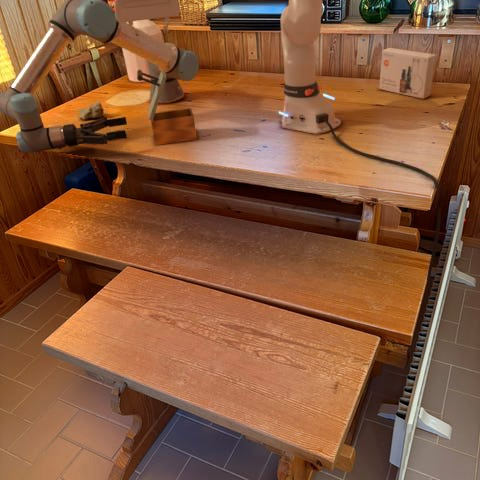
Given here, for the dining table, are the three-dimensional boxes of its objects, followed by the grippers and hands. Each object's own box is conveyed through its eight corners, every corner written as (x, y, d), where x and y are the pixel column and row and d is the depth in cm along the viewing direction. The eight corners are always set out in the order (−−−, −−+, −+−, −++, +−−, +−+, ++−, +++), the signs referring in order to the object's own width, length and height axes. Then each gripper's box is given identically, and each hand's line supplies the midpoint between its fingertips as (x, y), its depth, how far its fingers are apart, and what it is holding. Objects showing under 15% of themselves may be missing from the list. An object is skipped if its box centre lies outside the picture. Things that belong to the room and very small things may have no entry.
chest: (194, 129, 174) (190, 107, 170) (196, 139, 167) (193, 115, 162) (154, 135, 173) (150, 113, 168) (155, 145, 165) (151, 122, 160)
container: (160, 81, 233) (149, 21, 217) (121, 82, 238) (108, 23, 222) (174, 69, 249) (165, 13, 233) (138, 70, 254) (126, 15, 238)
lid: (164, 70, 161) (139, 61, 158) (166, 77, 153) (140, 68, 150) (151, 112, 168) (127, 103, 164) (152, 120, 160) (127, 112, 157)
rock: (80, 117, 200) (78, 121, 191) (76, 102, 197) (75, 105, 188) (105, 114, 202) (105, 117, 193) (102, 99, 199) (101, 102, 190)
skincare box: (377, 89, 194) (381, 50, 185) (385, 86, 197) (389, 47, 188) (423, 99, 180) (429, 56, 171) (430, 95, 183) (437, 53, 174)
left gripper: (71, 133, 174) (128, 125, 176) (64, 160, 154) (128, 150, 156) (66, 114, 170) (124, 105, 172) (57, 139, 149) (123, 129, 152)
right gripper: (175, -19, 145) (182, 28, 153) (110, -12, 143) (120, 36, 151) (177, -17, 140) (184, 32, 148) (109, -10, 138) (120, 40, 146)
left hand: (126, 127), depth 164 cm, fingers open, 13 cm apart
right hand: (151, 34), depth 149 cm, fingers open, 8 cm apart
